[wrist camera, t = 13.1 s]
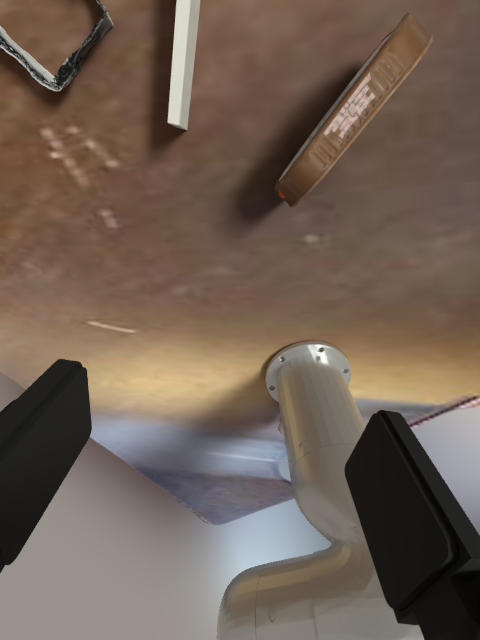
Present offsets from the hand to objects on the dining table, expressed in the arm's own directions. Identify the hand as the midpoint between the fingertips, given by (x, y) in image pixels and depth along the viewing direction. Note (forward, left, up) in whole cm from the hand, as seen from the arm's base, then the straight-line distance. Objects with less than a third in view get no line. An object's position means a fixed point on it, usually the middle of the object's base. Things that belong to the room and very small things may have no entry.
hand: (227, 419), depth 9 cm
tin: (+12, -6, -27) cm, 30 cm away
